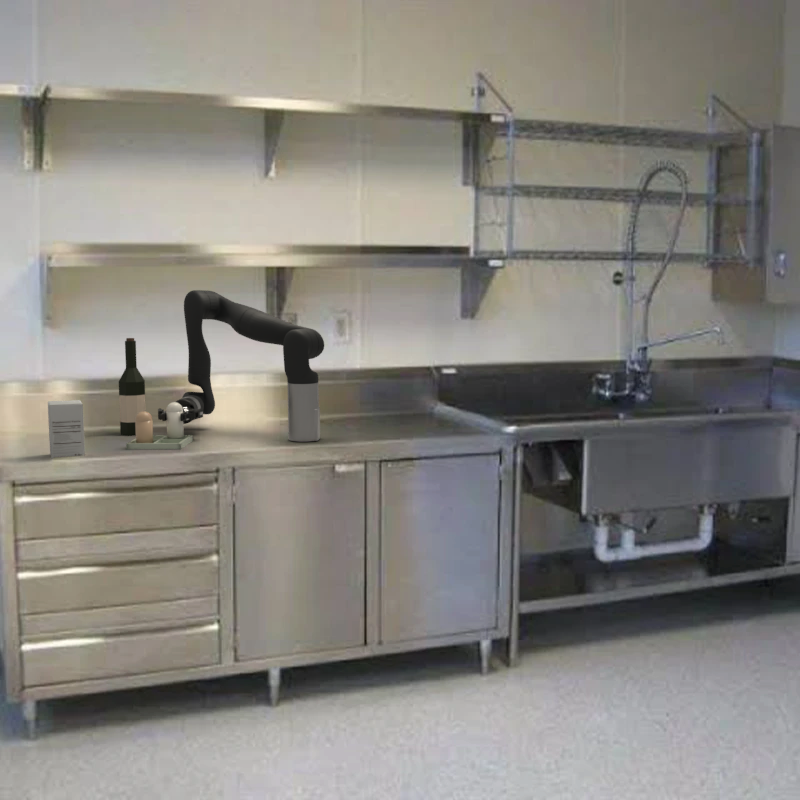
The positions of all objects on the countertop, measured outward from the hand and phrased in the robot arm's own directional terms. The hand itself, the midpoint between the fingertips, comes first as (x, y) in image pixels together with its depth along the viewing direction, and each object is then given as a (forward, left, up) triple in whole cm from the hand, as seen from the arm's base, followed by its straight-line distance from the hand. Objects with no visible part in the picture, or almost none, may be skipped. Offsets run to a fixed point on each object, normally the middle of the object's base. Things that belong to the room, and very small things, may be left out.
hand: (172, 417), depth 301 cm
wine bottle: (+18, -24, -9) cm, 32 cm away
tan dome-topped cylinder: (+7, +5, -8) cm, 12 cm away
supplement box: (+25, +16, -9) cm, 31 cm away
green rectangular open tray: (+3, +1, -8) cm, 9 cm away
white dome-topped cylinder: (0, -3, -6) cm, 7 cm away
